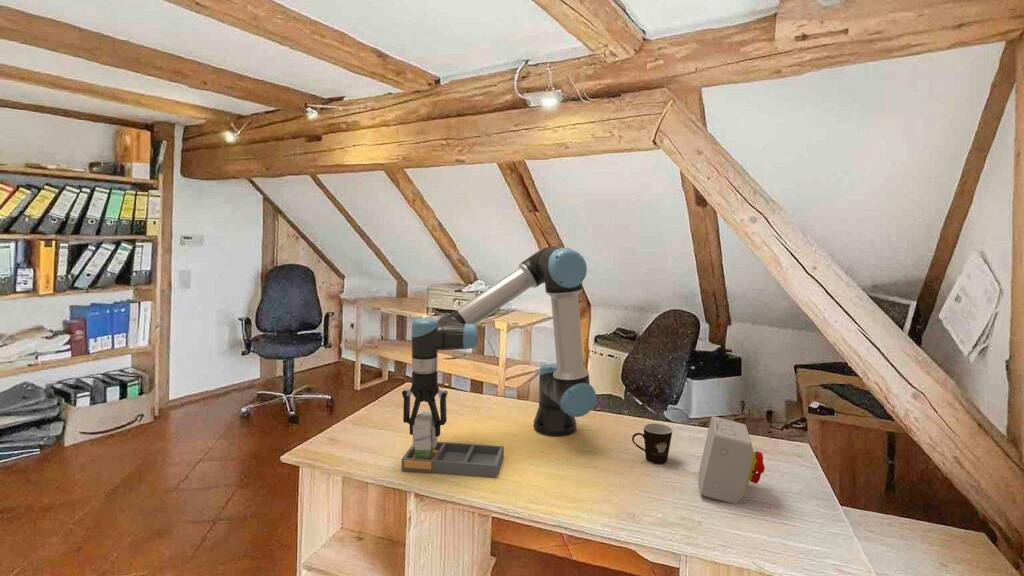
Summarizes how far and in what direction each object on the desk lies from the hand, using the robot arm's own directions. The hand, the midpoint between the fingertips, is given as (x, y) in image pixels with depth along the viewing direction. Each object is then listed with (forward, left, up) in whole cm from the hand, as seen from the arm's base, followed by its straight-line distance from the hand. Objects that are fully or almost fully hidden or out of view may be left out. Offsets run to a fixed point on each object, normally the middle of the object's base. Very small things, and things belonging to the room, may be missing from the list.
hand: (425, 445), depth 168 cm
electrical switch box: (-88, +5, -5) cm, 88 cm away
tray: (-9, 0, -5) cm, 10 cm away
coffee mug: (-69, -13, -5) cm, 70 cm away
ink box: (0, 0, -3) cm, 3 cm away
